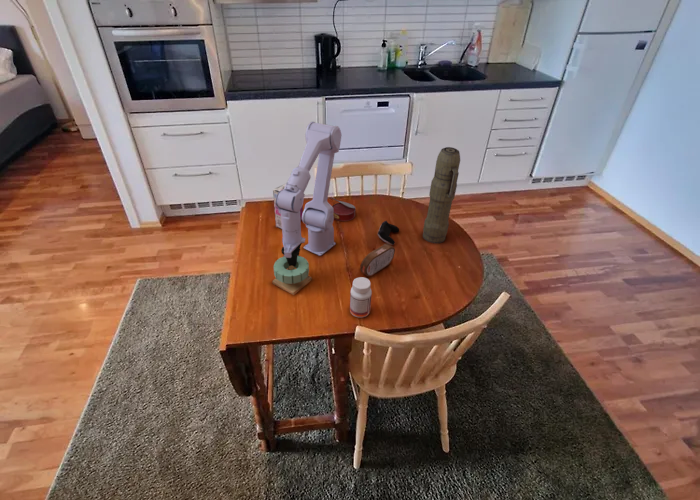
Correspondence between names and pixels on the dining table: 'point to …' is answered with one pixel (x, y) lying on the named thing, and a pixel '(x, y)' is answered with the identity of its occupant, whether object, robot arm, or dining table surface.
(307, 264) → the ring
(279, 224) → the candy bar box
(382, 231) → the gaming controller
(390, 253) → the tin
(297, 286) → the peg stand
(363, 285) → the pill bottle
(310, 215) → the robot arm
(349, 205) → the canned food
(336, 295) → the dining table surface
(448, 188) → the thermos
